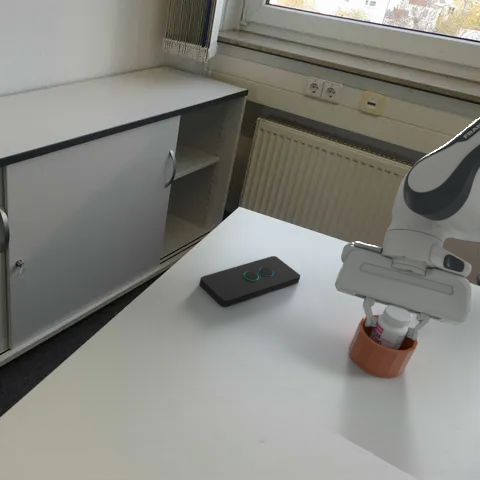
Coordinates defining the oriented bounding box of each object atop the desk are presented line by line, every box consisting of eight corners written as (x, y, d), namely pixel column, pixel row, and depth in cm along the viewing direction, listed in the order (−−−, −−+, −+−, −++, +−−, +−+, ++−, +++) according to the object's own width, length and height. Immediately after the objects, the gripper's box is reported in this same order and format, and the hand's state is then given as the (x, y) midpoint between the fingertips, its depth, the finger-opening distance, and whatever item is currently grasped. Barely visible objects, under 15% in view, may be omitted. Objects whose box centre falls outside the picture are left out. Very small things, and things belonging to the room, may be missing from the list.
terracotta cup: (409, 357, 94) (422, 331, 91) (396, 387, 88) (410, 360, 85) (357, 332, 98) (368, 307, 95) (341, 359, 92) (352, 333, 89)
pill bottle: (360, 346, 92) (376, 309, 88) (375, 336, 95) (392, 299, 90) (385, 364, 89) (404, 326, 85) (400, 353, 92) (419, 315, 87)
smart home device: (302, 276, 109) (225, 301, 100) (300, 282, 110) (223, 308, 101) (274, 254, 115) (198, 276, 106) (272, 260, 116) (197, 283, 107)
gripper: (349, 233, 92) (327, 311, 89) (483, 268, 86) (463, 352, 83) (342, 242, 98) (322, 315, 95) (467, 276, 92) (449, 354, 89)
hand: (389, 333), depth 89 cm, fingers closed on pill bottle, 5 cm apart
